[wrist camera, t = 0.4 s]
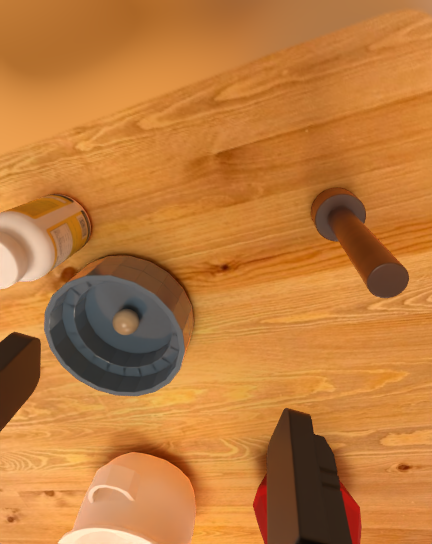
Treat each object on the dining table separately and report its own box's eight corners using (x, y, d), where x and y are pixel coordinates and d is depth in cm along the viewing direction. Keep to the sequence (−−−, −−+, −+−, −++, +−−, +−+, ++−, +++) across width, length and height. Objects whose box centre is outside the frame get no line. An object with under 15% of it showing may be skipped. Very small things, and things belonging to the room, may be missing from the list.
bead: (120, 301, 40) (109, 314, 37) (144, 308, 40) (136, 321, 37) (117, 321, 41) (106, 336, 39) (140, 328, 41) (132, 343, 39)
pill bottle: (26, 204, 37) (-67, 238, 27) (74, 183, 36) (-4, 211, 25) (57, 256, 40) (-18, 307, 29) (104, 240, 38) (43, 287, 27)
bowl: (76, 237, 38) (46, 257, 33) (207, 273, 38) (198, 300, 33) (69, 343, 45) (42, 374, 39) (181, 375, 45) (169, 410, 39)
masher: (320, 182, 33) (366, 234, 18) (365, 194, 32) (447, 256, 18) (304, 225, 34) (334, 303, 20) (346, 236, 34) (407, 323, 20)
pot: (71, 437, 52) (19, 523, 41) (173, 420, 48) (146, 511, 37) (131, 525, 60) (101, 617, 49) (223, 517, 56) (214, 616, 45)
